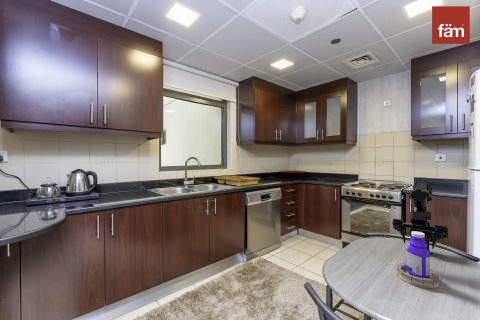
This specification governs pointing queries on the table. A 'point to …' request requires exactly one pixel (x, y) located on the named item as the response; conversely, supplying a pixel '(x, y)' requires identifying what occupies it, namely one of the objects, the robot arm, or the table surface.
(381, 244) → the table surface
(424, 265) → the bottle
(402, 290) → the table surface
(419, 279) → the collar base
